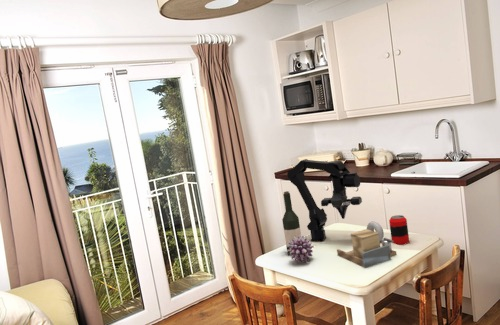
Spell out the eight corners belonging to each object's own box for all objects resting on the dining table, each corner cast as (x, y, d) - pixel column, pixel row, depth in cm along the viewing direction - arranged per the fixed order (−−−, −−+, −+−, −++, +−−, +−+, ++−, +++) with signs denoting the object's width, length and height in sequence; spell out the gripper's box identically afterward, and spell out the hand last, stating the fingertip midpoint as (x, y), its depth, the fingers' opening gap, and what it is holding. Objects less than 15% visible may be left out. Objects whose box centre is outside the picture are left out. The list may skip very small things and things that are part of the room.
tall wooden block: (354, 258, 181) (350, 233, 180) (369, 253, 184) (366, 229, 183) (365, 264, 174) (362, 237, 173) (382, 258, 177) (378, 232, 175)
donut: (386, 243, 196) (383, 222, 195) (380, 245, 195) (378, 224, 194) (372, 238, 205) (369, 219, 204) (366, 240, 204) (363, 220, 203)
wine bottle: (290, 249, 209) (281, 190, 206) (306, 249, 205) (297, 189, 202) (284, 255, 202) (274, 194, 198) (300, 255, 198) (291, 193, 195)
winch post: (379, 256, 182) (377, 238, 181) (388, 253, 184) (386, 235, 183) (389, 260, 176) (387, 242, 175) (399, 257, 178) (396, 239, 177)
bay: (337, 256, 190) (335, 242, 189) (361, 248, 194) (359, 235, 193) (365, 269, 171) (363, 253, 170) (391, 260, 175) (389, 245, 174)
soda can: (412, 242, 192) (409, 217, 190) (396, 246, 191) (393, 220, 189) (404, 238, 199) (401, 213, 198) (389, 241, 198) (385, 216, 197)
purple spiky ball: (317, 256, 194) (314, 231, 192) (312, 266, 182) (308, 240, 181) (293, 257, 198) (289, 232, 196) (286, 267, 187) (282, 241, 185)
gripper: (315, 192, 201) (319, 223, 202) (354, 190, 192) (358, 223, 193) (322, 186, 210) (327, 217, 212) (360, 184, 201) (364, 216, 203)
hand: (343, 218), depth 205 cm, fingers closed
